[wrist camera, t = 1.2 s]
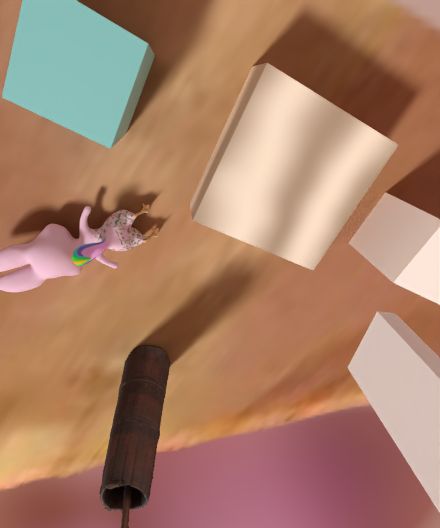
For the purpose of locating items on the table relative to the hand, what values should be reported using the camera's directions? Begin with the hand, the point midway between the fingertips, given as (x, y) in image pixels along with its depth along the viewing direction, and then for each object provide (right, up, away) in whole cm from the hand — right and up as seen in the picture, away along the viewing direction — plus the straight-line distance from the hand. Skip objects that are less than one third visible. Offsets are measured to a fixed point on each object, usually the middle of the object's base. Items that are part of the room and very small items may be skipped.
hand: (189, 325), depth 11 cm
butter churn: (-8, -8, +27) cm, 30 cm away
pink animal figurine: (-12, +4, +20) cm, 24 cm away
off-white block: (+18, +6, +24) cm, 30 cm away
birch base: (+6, +11, +19) cm, 23 cm away
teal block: (-8, +16, +14) cm, 23 cm away
